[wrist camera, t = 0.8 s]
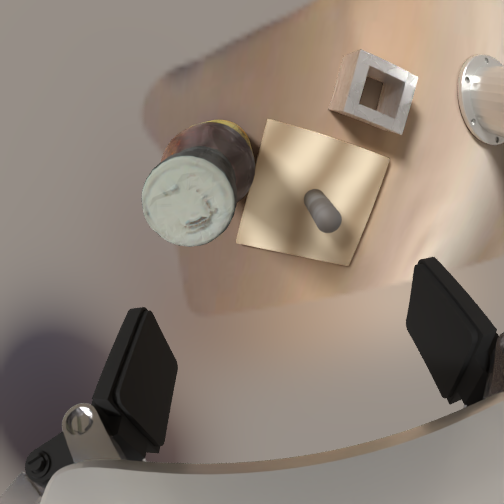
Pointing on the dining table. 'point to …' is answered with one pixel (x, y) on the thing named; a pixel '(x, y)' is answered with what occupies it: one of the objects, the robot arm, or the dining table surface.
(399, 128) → the collar
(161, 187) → the sauce bottle
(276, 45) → the dining table surface
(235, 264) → the dining table surface
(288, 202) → the post block
